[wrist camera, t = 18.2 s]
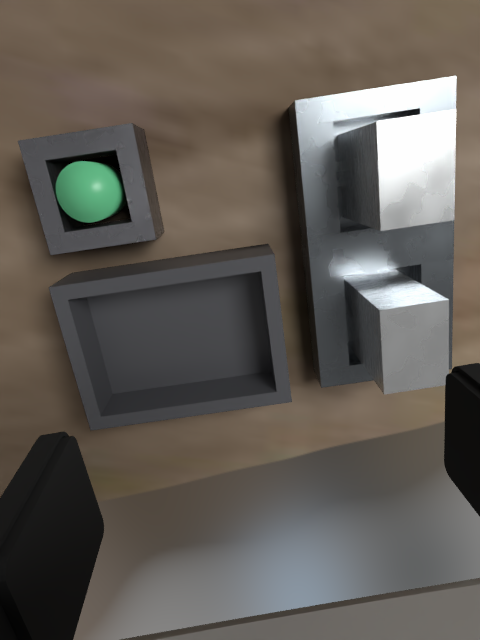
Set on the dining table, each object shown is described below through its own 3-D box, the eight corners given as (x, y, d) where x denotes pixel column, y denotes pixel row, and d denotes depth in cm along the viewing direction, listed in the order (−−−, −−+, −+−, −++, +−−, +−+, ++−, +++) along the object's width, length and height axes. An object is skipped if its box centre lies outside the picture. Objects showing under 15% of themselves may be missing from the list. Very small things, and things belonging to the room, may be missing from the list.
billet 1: (337, 135, 29) (376, 121, 22) (396, 126, 29) (455, 109, 22) (343, 220, 31) (380, 234, 24) (398, 211, 31) (454, 224, 24)
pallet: (288, 107, 30) (294, 100, 27) (434, 85, 29) (456, 75, 27) (313, 370, 36) (321, 387, 33) (433, 353, 36) (451, 369, 33)
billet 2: (343, 278, 33) (379, 310, 25) (396, 270, 32) (449, 299, 25) (349, 348, 34) (384, 397, 27) (399, 340, 34) (448, 387, 27)
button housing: (44, 145, 30) (18, 140, 26) (144, 129, 30) (132, 123, 26) (71, 245, 32) (50, 255, 28) (164, 231, 32) (156, 239, 28)
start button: (68, 166, 29) (48, 165, 26) (121, 159, 29) (107, 157, 26) (82, 220, 30) (64, 226, 27) (133, 213, 30) (121, 218, 27)
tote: (71, 272, 33) (48, 287, 29) (268, 243, 33) (274, 254, 28) (106, 400, 36) (90, 430, 32) (284, 375, 36) (291, 401, 32)
